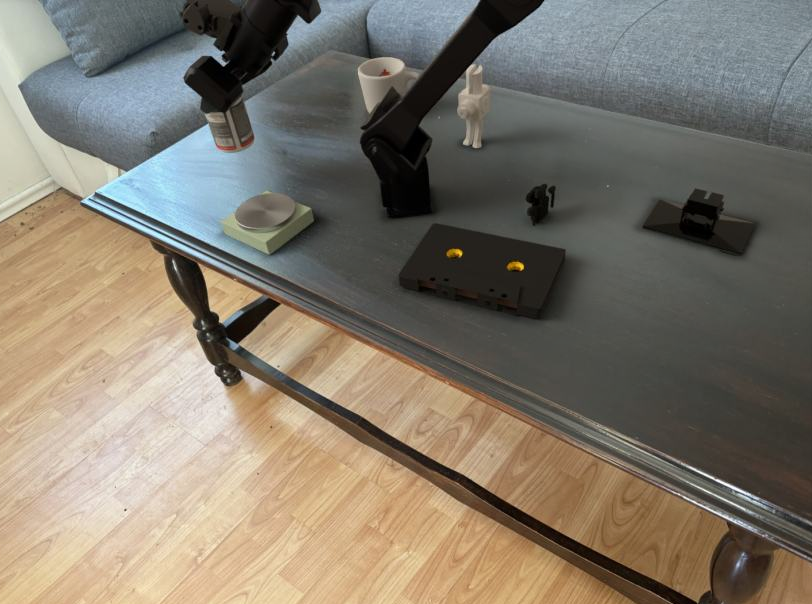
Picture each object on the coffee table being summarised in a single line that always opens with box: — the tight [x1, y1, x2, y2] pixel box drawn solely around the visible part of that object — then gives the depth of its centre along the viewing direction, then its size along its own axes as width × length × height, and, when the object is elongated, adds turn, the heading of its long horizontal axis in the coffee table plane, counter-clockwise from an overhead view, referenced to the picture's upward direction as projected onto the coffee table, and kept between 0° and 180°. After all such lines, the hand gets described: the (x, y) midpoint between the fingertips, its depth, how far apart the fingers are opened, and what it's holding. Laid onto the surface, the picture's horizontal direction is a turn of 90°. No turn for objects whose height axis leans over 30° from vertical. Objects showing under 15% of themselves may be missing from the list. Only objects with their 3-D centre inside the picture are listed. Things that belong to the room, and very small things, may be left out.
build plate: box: [641, 188, 756, 256], centre depth 84 cm, size 12×7×5 cm, turn 57°
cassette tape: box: [398, 222, 567, 320], centre depth 82 cm, size 18×12×2 cm, turn 66°
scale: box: [220, 190, 315, 256], centre depth 92 cm, size 9×9×3 cm
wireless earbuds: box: [525, 183, 557, 227], centre depth 88 cm, size 7×2×5 cm, turn 142°
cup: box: [357, 56, 420, 115], centre depth 111 cm, size 11×8×8 cm
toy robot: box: [456, 63, 492, 149], centre depth 101 cm, size 4×8×12 cm, turn 147°
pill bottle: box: [204, 95, 255, 154], centre depth 92 cm, size 6×6×10 cm
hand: (214, 100), depth 91 cm, fingers closed on pill bottle, 6 cm apart
